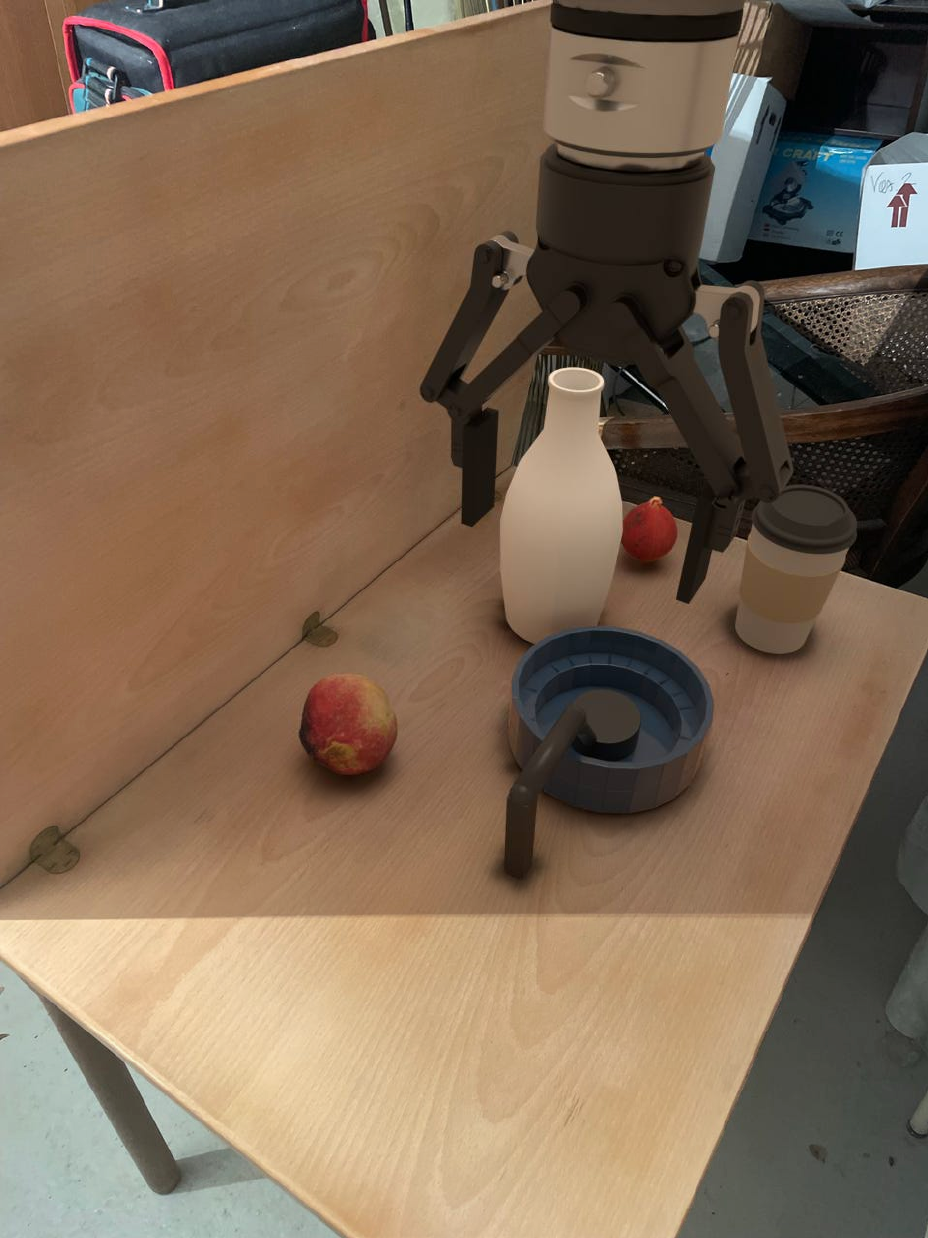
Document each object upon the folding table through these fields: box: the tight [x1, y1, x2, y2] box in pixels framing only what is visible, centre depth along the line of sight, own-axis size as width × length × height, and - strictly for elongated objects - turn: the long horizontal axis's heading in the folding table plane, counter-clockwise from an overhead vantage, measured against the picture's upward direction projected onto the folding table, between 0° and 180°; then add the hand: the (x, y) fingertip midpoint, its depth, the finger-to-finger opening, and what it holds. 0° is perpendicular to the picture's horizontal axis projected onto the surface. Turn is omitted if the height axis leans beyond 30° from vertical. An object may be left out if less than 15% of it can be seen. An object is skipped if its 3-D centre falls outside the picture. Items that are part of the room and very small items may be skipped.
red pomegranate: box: [620, 496, 678, 564], centre depth 94 cm, size 6×6×8 cm
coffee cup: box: [734, 484, 858, 655], centre depth 83 cm, size 9×9×15 cm
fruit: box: [298, 673, 398, 776], centre depth 72 cm, size 8×8×8 cm
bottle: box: [499, 367, 624, 645], centre depth 81 cm, size 11×11×25 cm
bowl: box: [507, 625, 715, 814], centre depth 75 cm, size 16×16×6 cm
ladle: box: [503, 689, 641, 881], centre depth 69 cm, size 19×6×10 cm, turn 149°
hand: (579, 550), depth 52 cm, fingers open, 13 cm apart
